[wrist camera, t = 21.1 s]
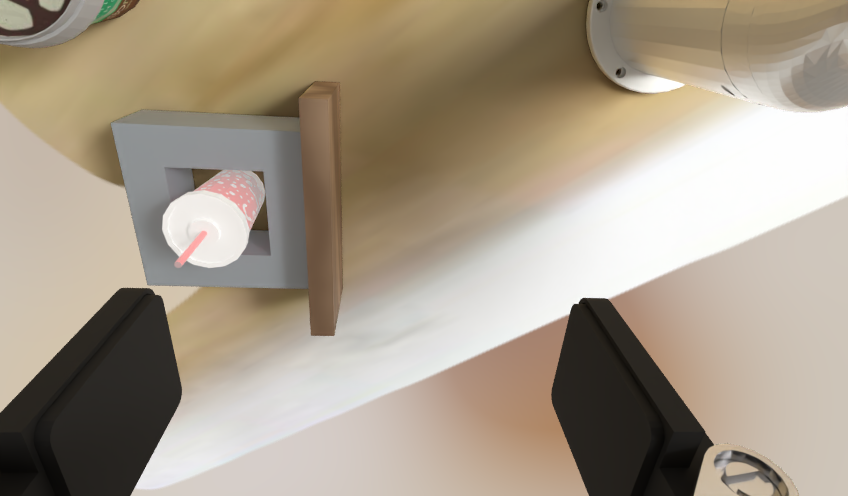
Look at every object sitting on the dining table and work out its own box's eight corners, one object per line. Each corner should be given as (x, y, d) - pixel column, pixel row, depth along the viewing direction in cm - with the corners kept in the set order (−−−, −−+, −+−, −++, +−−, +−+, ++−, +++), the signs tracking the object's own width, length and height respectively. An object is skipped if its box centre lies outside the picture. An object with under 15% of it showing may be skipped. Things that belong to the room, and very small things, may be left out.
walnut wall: (339, 82, 40) (328, 99, 33) (342, 287, 49) (334, 335, 42) (315, 81, 40) (298, 97, 33) (322, 287, 49) (310, 335, 42)
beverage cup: (260, 231, 46) (210, 316, 33) (196, 204, 44) (118, 283, 32) (283, 176, 43) (239, 245, 31) (216, 146, 42) (140, 206, 29)
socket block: (313, 118, 41) (303, 132, 37) (318, 262, 47) (311, 289, 43) (142, 109, 40) (110, 122, 35) (171, 258, 46) (147, 285, 42)
